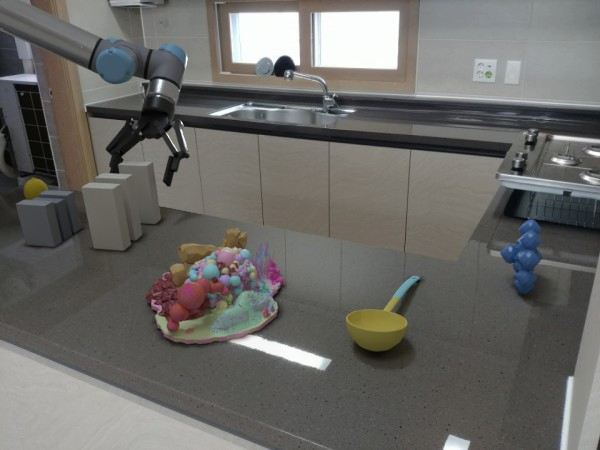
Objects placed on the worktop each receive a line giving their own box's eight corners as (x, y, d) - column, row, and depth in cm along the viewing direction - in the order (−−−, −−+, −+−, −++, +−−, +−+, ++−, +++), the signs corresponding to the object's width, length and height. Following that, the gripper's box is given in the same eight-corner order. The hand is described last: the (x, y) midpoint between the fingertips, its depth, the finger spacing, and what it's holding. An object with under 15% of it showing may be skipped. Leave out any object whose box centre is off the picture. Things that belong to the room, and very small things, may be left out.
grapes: (496, 268, 99) (504, 207, 94) (536, 272, 97) (546, 211, 92) (495, 299, 89) (503, 233, 84) (539, 305, 87) (550, 238, 82)
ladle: (334, 353, 76) (336, 314, 75) (391, 301, 99) (393, 271, 98) (395, 367, 72) (398, 326, 71) (439, 309, 95) (441, 278, 94)
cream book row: (113, 233, 119) (102, 172, 114) (142, 235, 118) (132, 174, 112) (93, 248, 112) (80, 185, 107) (123, 250, 111) (112, 186, 105)
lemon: (26, 207, 136) (19, 177, 133) (49, 202, 139) (42, 172, 135) (30, 213, 132) (22, 183, 128) (53, 208, 134) (47, 178, 131)
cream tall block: (134, 217, 127) (124, 160, 122) (161, 219, 126) (153, 161, 120) (127, 222, 125) (117, 164, 119) (155, 224, 123) (146, 165, 118)
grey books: (54, 226, 124) (45, 188, 120) (81, 228, 122) (73, 189, 118) (26, 244, 115) (15, 203, 111) (54, 247, 113) (44, 205, 110)
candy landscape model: (133, 285, 97) (125, 239, 93) (251, 254, 107) (248, 211, 104) (175, 359, 77) (167, 304, 73) (316, 312, 87) (315, 261, 84)
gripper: (214, 113, 130) (196, 192, 123) (121, 111, 135) (98, 187, 128) (203, 94, 123) (183, 177, 116) (106, 93, 129) (81, 172, 121)
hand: (139, 182), depth 122 cm, fingers open, 13 cm apart
